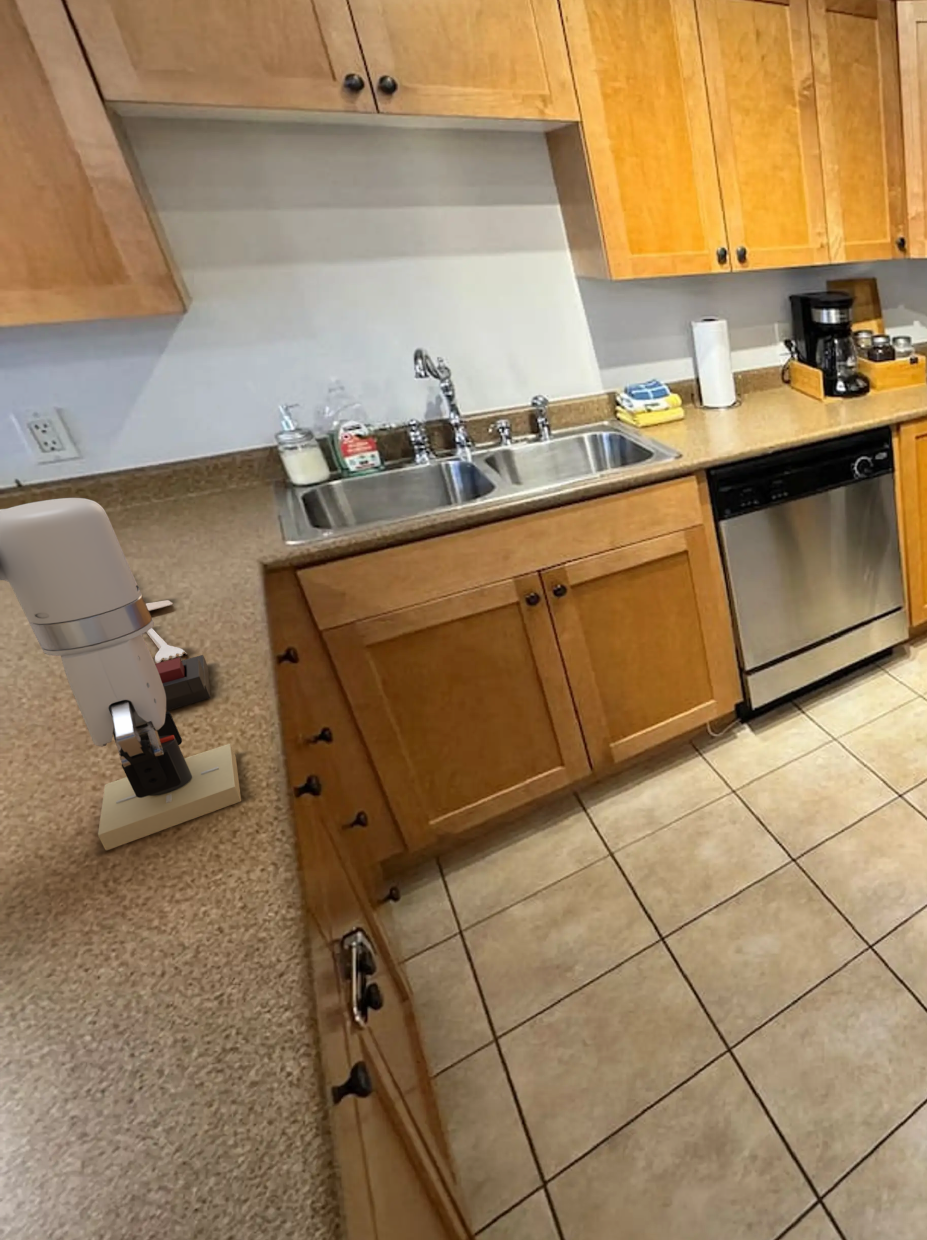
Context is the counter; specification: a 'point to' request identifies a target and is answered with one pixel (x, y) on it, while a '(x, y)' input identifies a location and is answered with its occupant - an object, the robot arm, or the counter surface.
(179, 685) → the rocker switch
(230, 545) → the counter surface
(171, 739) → the timer knob
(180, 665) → the red rectangular block
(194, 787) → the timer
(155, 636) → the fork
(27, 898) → the counter surface
